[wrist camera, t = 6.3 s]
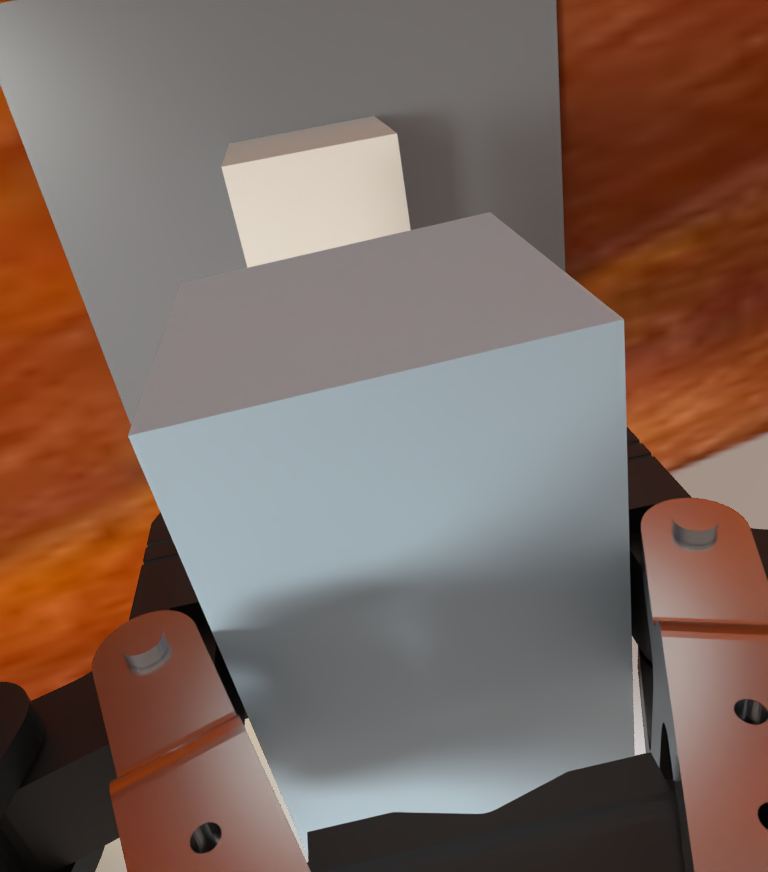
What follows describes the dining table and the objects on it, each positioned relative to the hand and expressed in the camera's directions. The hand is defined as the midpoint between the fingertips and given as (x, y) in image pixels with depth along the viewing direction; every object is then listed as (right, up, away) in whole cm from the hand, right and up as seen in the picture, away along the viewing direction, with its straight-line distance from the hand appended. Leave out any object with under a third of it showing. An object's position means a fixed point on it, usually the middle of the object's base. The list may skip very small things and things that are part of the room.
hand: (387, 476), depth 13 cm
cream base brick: (-2, +8, +14) cm, 16 cm away
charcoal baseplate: (-2, +8, +15) cm, 17 cm away
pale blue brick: (0, 0, +1) cm, 1 cm away
